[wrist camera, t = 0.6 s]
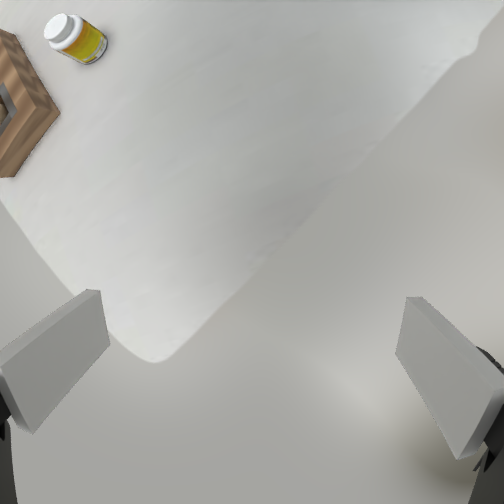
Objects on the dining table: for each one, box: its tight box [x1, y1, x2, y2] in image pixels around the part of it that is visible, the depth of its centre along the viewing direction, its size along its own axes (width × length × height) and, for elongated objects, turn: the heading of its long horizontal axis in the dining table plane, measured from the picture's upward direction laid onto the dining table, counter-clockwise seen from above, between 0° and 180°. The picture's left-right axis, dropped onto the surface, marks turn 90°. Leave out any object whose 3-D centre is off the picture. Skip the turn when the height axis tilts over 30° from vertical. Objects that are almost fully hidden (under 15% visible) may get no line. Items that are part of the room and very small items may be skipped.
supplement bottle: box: [44, 13, 107, 64], centre depth 29 cm, size 6×6×10 cm
